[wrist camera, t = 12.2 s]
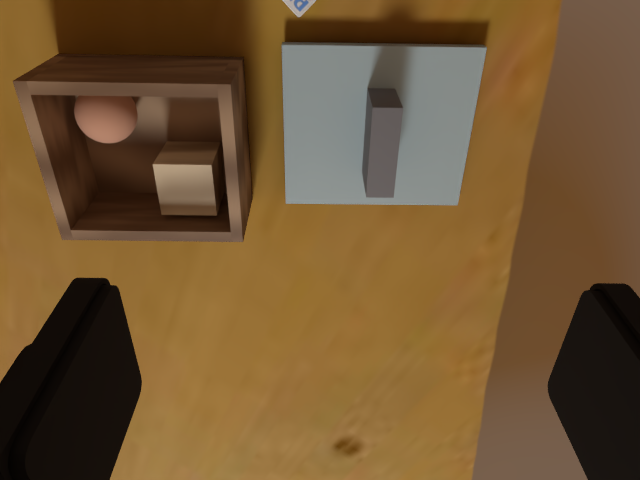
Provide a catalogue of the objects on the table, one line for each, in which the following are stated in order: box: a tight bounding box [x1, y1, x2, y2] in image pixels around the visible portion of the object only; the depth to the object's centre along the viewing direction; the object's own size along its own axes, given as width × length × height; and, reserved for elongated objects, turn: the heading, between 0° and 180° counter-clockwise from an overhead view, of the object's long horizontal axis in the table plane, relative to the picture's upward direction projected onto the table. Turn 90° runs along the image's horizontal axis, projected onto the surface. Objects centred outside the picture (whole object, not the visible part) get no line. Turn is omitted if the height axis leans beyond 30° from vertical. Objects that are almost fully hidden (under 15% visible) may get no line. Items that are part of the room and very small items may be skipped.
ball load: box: [74, 96, 138, 143], centre depth 44 cm, size 5×5×5 cm
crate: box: [13, 54, 252, 242], centre depth 45 cm, size 14×16×8 cm
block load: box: [153, 141, 225, 216], centre depth 47 cm, size 5×5×5 cm
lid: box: [282, 42, 487, 205], centre depth 45 cm, size 15×17×7 cm
